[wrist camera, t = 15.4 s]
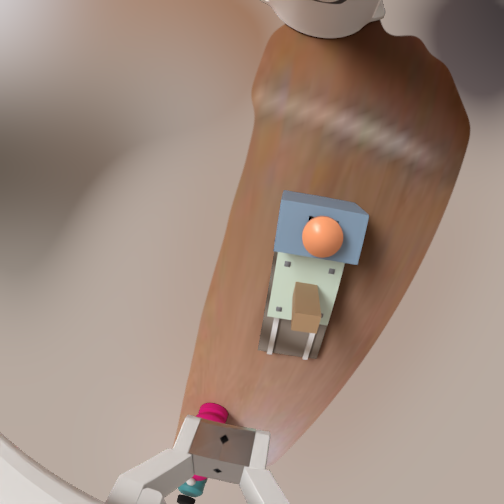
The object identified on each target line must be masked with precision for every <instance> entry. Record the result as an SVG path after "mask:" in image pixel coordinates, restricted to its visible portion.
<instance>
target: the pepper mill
mask: <svg viewBox="0 0 504 504" xmlns="http://www.w3.org/2000/svg"><path fill="white" fill-rule="evenodd" d="M227 416H228V413H227V411H226V409H225V408H223V407H222V406H220V405H218V404H215V403H205V404H203V405H202V406H201V407H200V410H199V414H198V415H197V416H196V417H200V418H203V419H207V420H211V421H215V422H219V423H224V424H226V423H225V422H226V420H227ZM205 479H207V477H203V476H198V475H194V476H193V477H192V478H190V479H189V480H188V481H186V483H187V484H188V485H190V486H193V485H195V483H196V481H202V480H205Z"/></svg>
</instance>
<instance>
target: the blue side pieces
mask: <svg viewBox="0 0 504 504" xmlns="http://www.w3.org/2000/svg"><path fill="white" fill-rule="evenodd" d="M309 216H312V217H316V216H328V217H331V218H333V219H334V220H335V221H337V223H338V224H339V225H340V227H341V229H342V232H343V243H342V246H341V247H340V249H339V250H338V251H337V252H336V253H335V254H334V255H332V256H329V257H325V258H320V257H316V256H313V255H311V254H310V253H309V252H308V251H307V250H306V249H305V247H304V245H303V240H302V232H303V228H304V226H305V225H306V223H307V222H308V220H309ZM368 219H369V215H368V214H367V213H366V212H365V211H364V210H363V209H361V208H360V207H359V206H358V205H357V204H356V203H353V202H348V201H343V200H337V199H332V198H327V197H321V196H316V195H310V194H304V193H298V192H292V191H286V190H284V192H283V195H282V199H281V205H280V212H279V218H278V225H277V232H276V238H275V245H274V251H276V252H282V253H288V254H294V255H300V256H306V257H312V258H318V259H324V260H330V261H336V262H342V263H348V264H354V265H357V264H358V261H359V257H360V253H361V249H362V245H363V241H364V236H365V232H366V228H367V223H368Z"/></svg>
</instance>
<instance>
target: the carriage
mask: <svg viewBox="0 0 504 504" xmlns="http://www.w3.org/2000/svg"><path fill="white" fill-rule="evenodd" d="M344 265H345V263H342V262H336V261H330V260H324V259H318V258H312V257H306V256H300V255H294V254H288V253H282V252H278V255H277V261H276V267H275V273H274V279H273V285H272V291H271V296H270V302H269V308H268V313H267V316H269V317H275V318H281V319H287V320H291V330H294V331H300V332H307V333H314V334H317V330H318V327H319V324H321V325H328V323H329V319H330V316H331V312H332V309H333V306H334V302H335V299H336V295H337V291H338V288H339V284H340V280H341V276H342V273H343V269H344Z"/></svg>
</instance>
